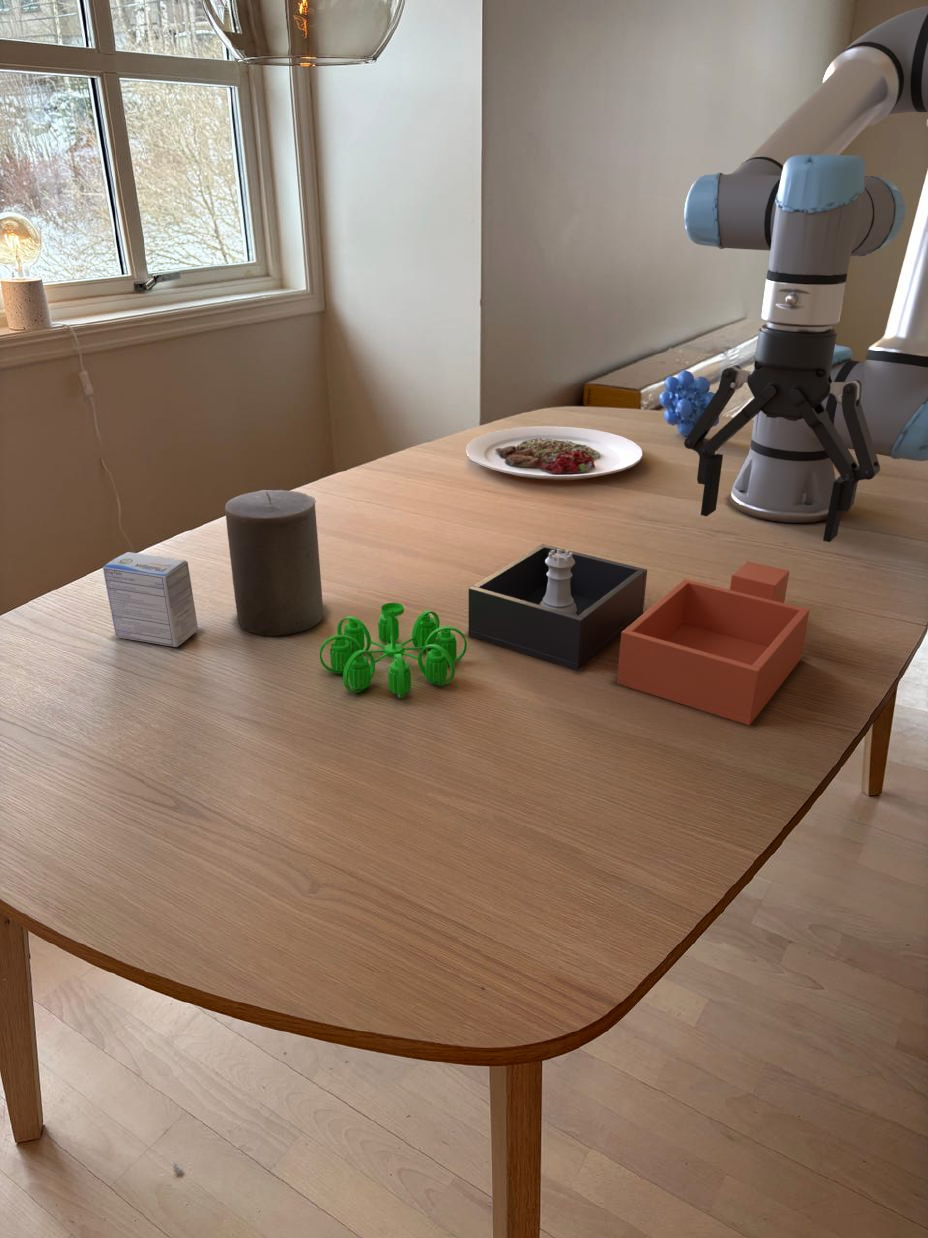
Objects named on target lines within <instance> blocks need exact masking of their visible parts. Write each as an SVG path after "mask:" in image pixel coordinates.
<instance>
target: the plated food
mask: <svg viewBox="0 0 928 1238" xmlns="http://www.w3.org/2000/svg"><path fill="white" fill-rule="evenodd" d="M465 452H466V456H467V457H468V458H469V459H470V461H473V462H474V463H476V464H477V465H479V466H482V467H485V468H487V469H489V470H494V471H498V472H501V473H504V474H507V475H512V476H515V477H521V478H525V479H534V480H546V481H574V480H584V479H585V480H586V479H591V478H596V477H600V476H601V477H602V476H606V475H611V474H615V473H619V472H623V471H625V470H628V469H630V468H632V467H634V466H635V465H637V464H638V463H640V462H641V460H642V458H643V449H642V448H641V447H640V446H639V445H638V443H636V442H634V441H632V440H630V439H629V438H626V437H624V436H621V435H618V434H614V433H611V432H607V431H602V430H598V429H592V428H583V427H573V426H557V425H533V426H518V427H511V428H504V429H498V430H493V431H490V432H487V433H484V434H480V435H479V436H476V437H474V438H473V439H471V440H470V441H469V442H468V443H467V445H466V447H465Z"/></svg>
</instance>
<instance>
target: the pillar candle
mask: <svg viewBox="0 0 928 1238" xmlns="http://www.w3.org/2000/svg"><path fill="white" fill-rule="evenodd" d="M316 502H317V500H316V498H315V497H314V496H311V495H309V494H306V493H303V492H301V491H295V490H285V489H276V490H275V489H262V490H261V489H260V490H258V491H252V492H248V493H244V494H240V495H238V496H235V497H232V498H231V499H228V501H227V502H226V504H225V507H224V511H225V522H226V533H227V541H228V549H229V557H230V567H231V574H232V576H231V577H232V586H233V593H234V602H235V610H236V616H237V622H238V625H239V627H240V628H241V629H243V630H245V631H246V632H250V633H253V634H255V635H259V636H266V637H278V636H289V635H292V634H297V633H301V632H304V631H307V630H309V629H311V628H313V627H315V626H316V625H317V624H319V623H320V622H321V621H322V619H323V617H324V603H323V590H322V578H321V577H322V576H321V564H320V563H321V561H320V549H319V538H318V537H319V536H318V526H317V512H316V511H317V510H316Z"/></svg>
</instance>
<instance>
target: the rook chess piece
mask: <svg viewBox="0 0 928 1238" xmlns="http://www.w3.org/2000/svg"><path fill="white" fill-rule="evenodd" d="M562 549H563V548H562ZM562 549H557V553H555V550H551V551H550V553H549V557H548V558H547V559H546V560H545V563H546V564H547V566H548V567H549V571H548V572H547V576H548V585H547V590H546V594H545V596H544V597H543V601H541V603H540V604H539V605H541V606H544V607H548V608H552V609H555V610H559V611H562V612H566V613H569V614H573V615H576V616H577V614H576V612H577V607H576V604H575V603H574V600H573V598H572V596H571V589H570V578H571V577H572V573H571V572H570V570H571V567H572V566H573V565H574V564H575V560H574V559H573V558H572V553H570V551H571V550H570V551H568V550H569V549H566V550H565V553H562Z"/></svg>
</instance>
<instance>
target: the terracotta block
mask: <svg viewBox="0 0 928 1238" xmlns="http://www.w3.org/2000/svg"><path fill="white" fill-rule="evenodd" d="M789 576H790V570H788V569H784V568H781V567H780V568H779V567H775V566H771V565H765V564H761V563H757V562H753V561H748V560H747V561H745V562H744V563H743V564H742V565H741V566H740V567H739V568H738V569H737V570H736V571H734V572H733V573H732V574H731V578H730V584H729V585H730V586H729V590H732V591H736V592H740V593H744V594H748V595H752V596H756V597H761V598H765V599H769V600H773V601H777V602H781V603H785V601H786V595H787V590H788V582H789V578H790V577H789Z"/></svg>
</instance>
